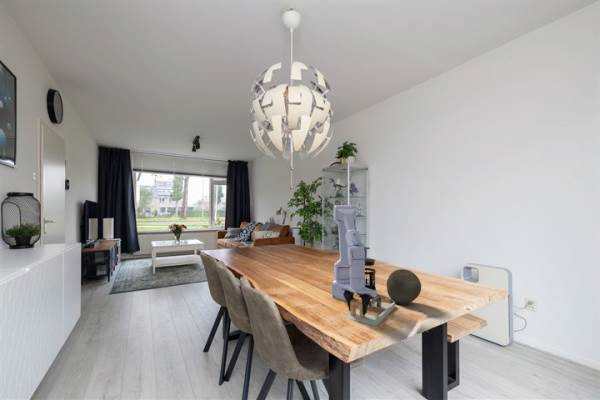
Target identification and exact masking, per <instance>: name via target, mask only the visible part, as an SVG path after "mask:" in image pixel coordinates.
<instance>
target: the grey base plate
mask: <svg viewBox="0 0 600 400" xmlns="http://www.w3.org/2000/svg"><path fill="white" fill-rule="evenodd" d="M369 307H373V308H377V309H379V308H378V307H377V302H376V303H375V304H374V305H372V306H369V304H368V308H369ZM395 308H396V303H395V302H394V301H392V303H390V305H389V304H388V305H387V304H383V303H381V308H380V309H381V310H383V311H382V312H381V313H380V314H379V315H378V316H377V315H373V314H372V315H371V314H368V313H366V314H365V317H364V318H360V306H356V314H355V315H354V316H351V315H350V312H348V313H347V314H345V315H344V316H343V318H344V319H348V320H351V321H356V322H359V323H363V324H367V325H372V326H374V327H375V326H376V327H377V326H378V325H379V324H380V323H381V322H382V321H383V320H384V319H385V318H386V317H387V316H388V315H389V314H390V313H391V312H392V311H393V310H394V309H395Z"/></svg>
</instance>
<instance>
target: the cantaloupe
mask: <svg viewBox="0 0 600 400" xmlns="http://www.w3.org/2000/svg"><path fill="white" fill-rule="evenodd" d="M386 290H387V296H388V297H389V298H390V299H391V300H392V302H395V304H397V305H408V304H411V303H413V302H414V301H415V300H416V299H417V298H419V296H420V294H421V292H422V283H421V281H420V278H419V277H418V276H417V275H416V273H414V272H413V271H411V270H410V269H409V270H408V269H405V268H404V269H403V268H402V269H401V268H400V269H396V270H393V271H392V272H391V273H390V274H389V275H388V278H387V280H386Z"/></svg>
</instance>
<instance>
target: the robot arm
mask: <svg viewBox="0 0 600 400" xmlns="http://www.w3.org/2000/svg"><path fill="white" fill-rule="evenodd" d="M332 211H333V212H332V213H333V214H332V215H333V218H332V219H333V223H334V224H336V225H337V229H338V230H337V231H338V244H339V245H338V247H339V249H338V250H339V251H338V252H339V253H338V254H339V259H338V260H337V261H335V262H334V264H333V278H334V280H333V281H332V282H331V284H332V285H331V298H333V299H336V300H339V301H345V302H346V304H347V307H348V311H349V312H350V310H351V309H350V301H351V300H354V294H357V293H359V294H364V295H363V296H360V299H361V300H360V301H362V312H363V315H365V314H368V313H367V312H368V309H369V307H368V304H369V302H370V301H372V298H376V297H377V296H378V295H377V292H378V291H377V290H376V291H375V290H371V289H368V288H365V285H366V284H365V279H366V275H365V272H366V270H365V268H366V266H365V261H364V260H366V258H368V249H367V250H366V247H367V246H366V245H365V244H364V242H362V240H361V235H360V232H359V231H358V230H356V226H355V220H356V217H357V206H356V205H354V204H344V205H343V204H339V205H338V204H335V205H334V206H333V210H332Z"/></svg>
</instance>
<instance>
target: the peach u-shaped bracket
mask: <svg viewBox="0 0 600 400" xmlns="http://www.w3.org/2000/svg"><path fill="white" fill-rule="evenodd" d="M358 306H360V318H364V317H365V315H363V312H362V300H357V299H353V300H351V301H350V309H351V310H350V311H349V313H350V315H351V316H354V315H355V314H356V307H358Z"/></svg>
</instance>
